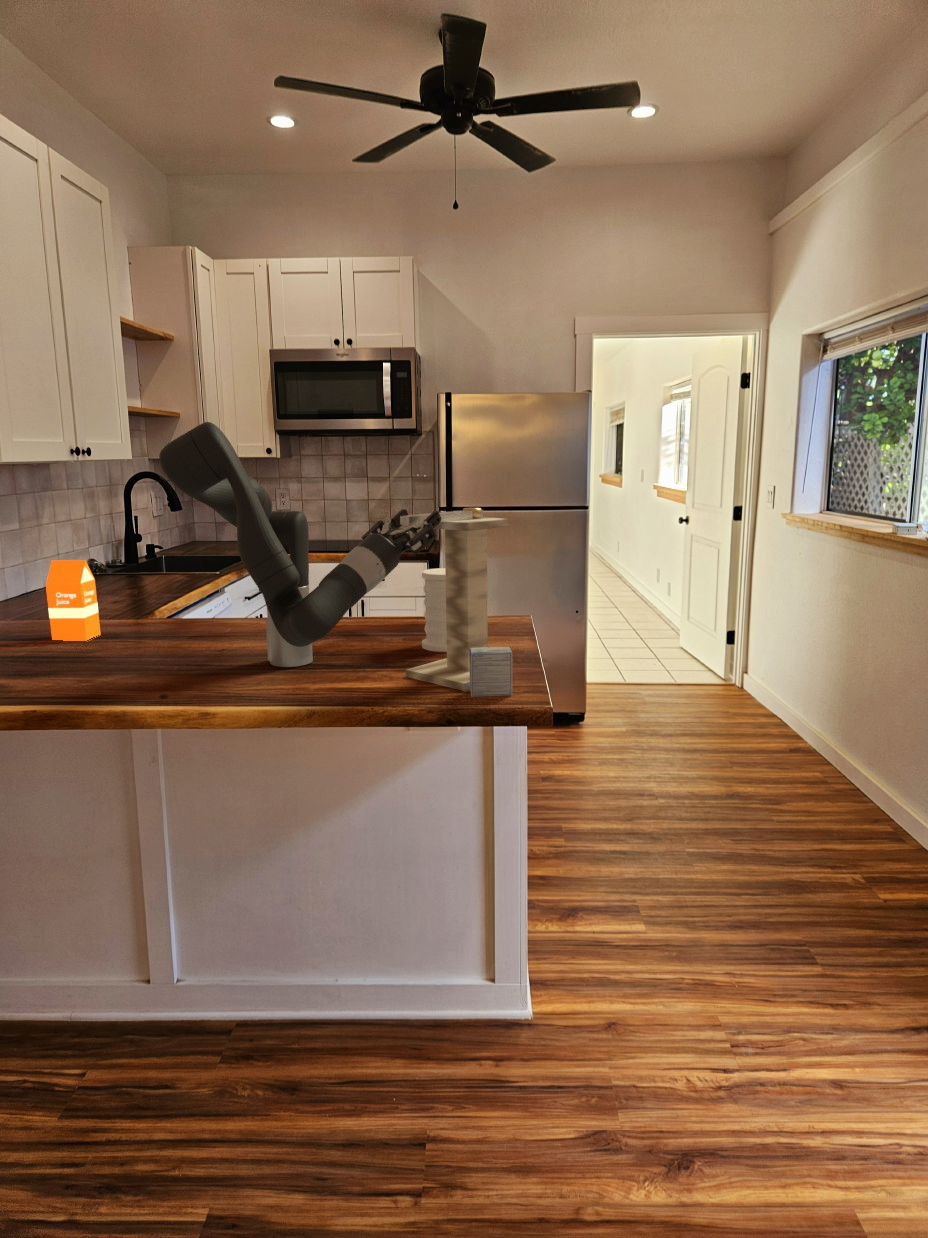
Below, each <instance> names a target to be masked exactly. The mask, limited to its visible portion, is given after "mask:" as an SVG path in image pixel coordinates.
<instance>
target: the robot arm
mask: <svg viewBox="0 0 928 1238" xmlns="http://www.w3.org/2000/svg"><path fill="white" fill-rule="evenodd" d="M158 460H159V463H160V467H161V470H162V472H163V474H164V475H165V476H166V478H167V479H168V480H169V481H170V482H171V483H172V484H173V485H174V486H175V487H176V488H178V489H179V491H181V492H182V493H184V494H185V495H187V496H189V497H191V498H192V499H194V500H196V501H198V502H200V503H202V504H204V505H206V506H208V507H209V508H211V509H212V510H214V511H215V512H216V513H217V514H218V515H220V517H221V518H223V519H224V520H225V521H226V522H228V523H230V524H231V525H232V526H234V527H236V538H237V539H236V541H237V550H238V554H239V557H240V558H239V559H240V560H241V562H242V564H243V566H244V568H245V569H246V571H247V572H248V574H249V575H250V577H251V579H252V580H253V582H254V583H255V585H256V586H257V588H258V590H259V591H260V593H261V595H262V597H263V600H264V602H265V605H266V606H265V607H266V610H267V611H266V614H267V619H265V628H266V629H265V631H266V646H267V661H268V662H270V665H272V667H273V666H274V667H279V668H293V667H296V668H297V667H300V666H301V667H302V666H305V665H308V664H311V663H313V661H314V660H313V659H314V658H313V656H314V655H313V643H316V642H317V641H319V640H321V639H323V638H325V636H327V635H328V634H329V633H330V632H331V631H332V630H333V629H334V628H335V627H336V626H337V624H338V623H340V622H341V619H343V617H344V616H345V615H346V614H347V612H348V611H349V610H350V609H351V608H353V607H354V606H355V605H356V604H357V603H358V602H359V601H360V600H361V599H362V598H363V597H364V596H366V595H367V594H368V593H369V592H371V591H372V590H373V589H375V588H376V587H377V586H378V585H379V584H380V583H381V582H382V581H383V580H385V578H386V577H387V576H388V575H389V574H391V573H392V572H393V570H395V568H397V567H398V566H399V563H400V559H401V558H400V557H401V555H402V554H403V553H405V552H407V551H408V550H412V553H413V554H414V555H417V554H418V553H420V552H421V551H423V549H425V548H426V546H428V545H429V544H430V543H431V542H432V541H434V539H435V538H437V536H438V535H437V533H436V531H435V529H434V528H435V527H436V526H437V525H438V524H439V523H440V522H441V516H440V514H439V513H440V512H439V511H438V510H434V511H432V512H430V513H431V514H430V513H429V514H430V515H429V516H428V517H427V518H426V519H425V520H424V521H423V522H422V523H420V524H417V525H413V524H412V525H406V526H405V527H403V528H401V527H402V526H403V525H400V516H407V515H409V513H408V510H407V509H406V508H405V509H401V510H399V511H398V512H397V513H396V514H395V515H393V517H392V518H388V519H386V520H385V521H383V520H379V521H377V522H376V523H375V524H374V525H372V526H371V528H369V530H367V531H366V532H365V533H364V534H363V535H362V536H361V539H362V540H361V541H360V542H359V543H358V544H357V545H356V546H355V547H353V549H351V550H350V551H349V552H348V553H347V554H346V555H345V556H343V559H342V560H341V561H340V562H339V563H338V564H337V565H336V566H335V567H334V568H333V569H332V570H330V571H329V572H328V573H327V574H326V575H325V576H324V577H323V578H322V579H321V581H320V582H319V583H318V586H316V587H315V588H313V590H312V591H310V582H309V581H310V580H309V579H310V576H309V574H310V573H309V572H310V568H309V567H310V565H309V564H310V563H309V562H310V561H309V560H310V559H309V542H310V541H309V540H310V539H309V538H310V537H309V533H310V532H309V524H308V519H307V517H306V515H305V513H303V512H302V511H298V510H273V502H272V498H271V495H270V494H269V492H268V491H267V490H266V489H265V488H264V486H262V485H261V484H260V482H258V481H257V480H256V479H255V478H253V477H251V476H250V475H248V474H247V471H246V470H245V467H244V465H243V463H242V461H241V460H240V458H239V456H238V454H237V452H236V450H235V449H234V446H233V445H232V443H231V442H230V440H229V439H228V437H227V436H226V435H225V433H224V432H223V431H222V430H221V428H219V427H218V426H217V425H216V424H214V423H212V422H211V421H205V422H202V423H201V424H198V425H197V426H194V427H193V428H191V429H190V430H188V431H186V432H185V433H183V434H181V435H180V436H178V437H176V438H174V439H173V440H172V441H170V442H168V443H167V444H166V445H164V447H163V448H162V449H161V450H160V452H159V455H158ZM378 529H379V532H378ZM419 530H420V531H419ZM410 532H412V534H413V536H411V534H410Z"/></svg>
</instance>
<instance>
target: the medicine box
mask: <svg viewBox="0 0 928 1238" xmlns="http://www.w3.org/2000/svg"><path fill="white" fill-rule="evenodd" d="M469 668H470V689H469V690H470V691H469V692H470V697H471V698H474V697H475V698H477V697H502V696H504V697H505V696H513V651H512V650H511V648H510V647H509V646H488V647H480V648H470V649H469Z"/></svg>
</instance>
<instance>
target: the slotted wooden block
mask: <svg viewBox="0 0 928 1238" xmlns="http://www.w3.org/2000/svg"><path fill="white" fill-rule="evenodd" d="M431 513H432V512H430V513H421V514H420V513H418V514H411V515H410V514H408V515H407V516H400V525H402V526H409V525H412V524H413V525H417V524H420V523H422V522H423V521H424V520H425V519H426V518H427V517H428V516H429V515H430V514H431ZM439 514H440V516H441V522H448V521H458V520H468V519H481V518H483V517H484V509H482V508H481V507H464V508H463V510H453V511H452V510H451V511H445V512H444V511H443V512H439Z"/></svg>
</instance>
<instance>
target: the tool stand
mask: <svg viewBox="0 0 928 1238" xmlns="http://www.w3.org/2000/svg"><path fill="white" fill-rule="evenodd" d="M509 523H510V519H509V518H503V517H501V518H499V517H484V516H483V518H481V519H468V520H458V521H448V522H440V523H439V524H438V525H437V526H436V527H435V528H434V530H435V529H436V530H437V529H438V530H444V553H445V554H444V555H445V557H444V559H445V560H444V561H445V565H444V566H445V567H444V568H445V572H446V634H447V652H446V657H445V658H443V659H439V660H436V661H431V662H428V663H425V664H421V665H418V666H413V667H410V668H407V669H405V677H406V678H410V679H414V680H418V681H423V682H426V683H429V684H433V685H434V684H435V685H438V686H442V687H446V688H451V689H454V690H458V691H459V690H460V691H463V692H466V691H469V690H470V668H469V649H470V648H480V647H489V646H488V641H489V640H488V636H489V635H488V633H489V632H488V530H489V529H497V528H505V527H506V528H507V527H509V525H510V524H509Z"/></svg>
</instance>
